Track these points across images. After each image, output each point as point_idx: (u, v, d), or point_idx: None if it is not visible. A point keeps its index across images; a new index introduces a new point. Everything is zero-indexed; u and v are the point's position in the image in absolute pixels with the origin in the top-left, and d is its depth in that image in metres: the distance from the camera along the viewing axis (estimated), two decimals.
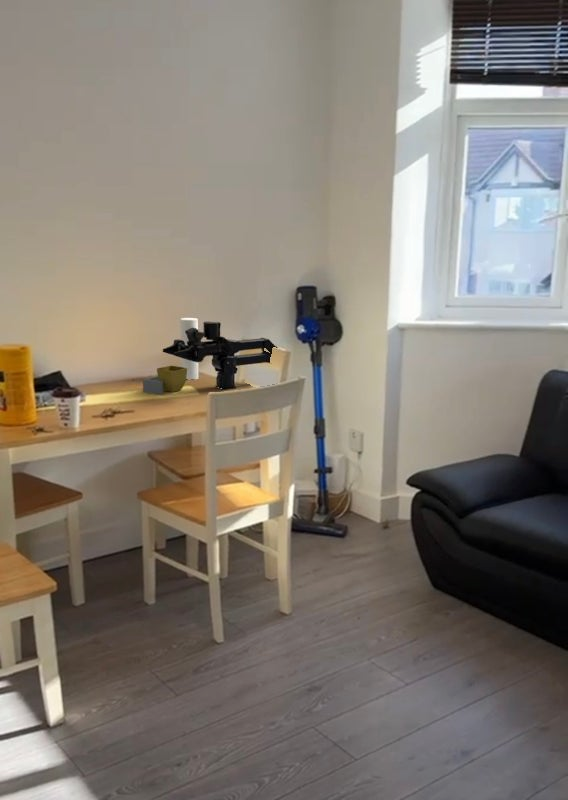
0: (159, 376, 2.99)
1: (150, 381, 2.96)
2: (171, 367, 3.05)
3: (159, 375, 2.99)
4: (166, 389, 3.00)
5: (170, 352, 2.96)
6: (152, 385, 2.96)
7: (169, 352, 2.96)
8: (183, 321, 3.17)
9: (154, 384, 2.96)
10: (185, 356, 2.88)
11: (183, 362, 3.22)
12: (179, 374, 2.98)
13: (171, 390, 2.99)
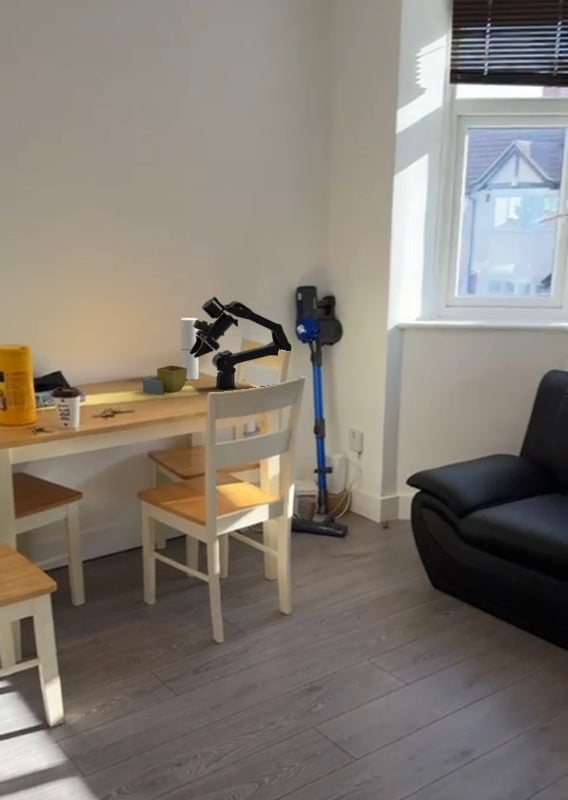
0: (159, 377, 2.99)
1: (150, 381, 2.96)
2: (171, 367, 3.05)
3: (159, 375, 2.99)
4: (166, 389, 3.00)
5: (197, 349, 3.06)
6: (152, 385, 2.96)
7: (197, 350, 3.05)
8: (183, 321, 3.17)
9: (154, 384, 2.96)
10: (204, 352, 2.97)
11: (183, 362, 3.22)
12: (179, 374, 2.98)
13: (171, 390, 2.99)
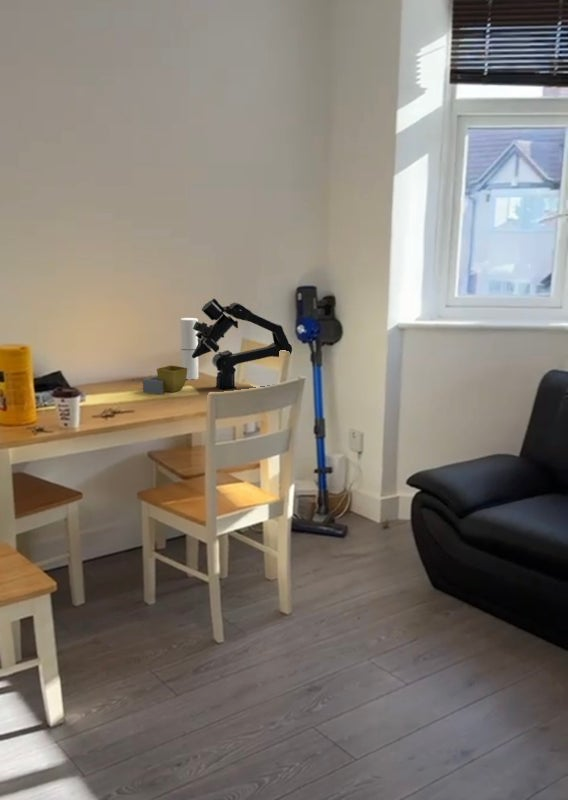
0: (159, 376, 2.99)
1: (150, 381, 2.96)
2: (171, 367, 3.05)
3: (159, 375, 2.99)
4: (166, 389, 3.00)
5: None
6: (152, 385, 2.96)
7: None
8: (183, 321, 3.17)
9: (154, 384, 2.96)
10: (202, 352, 3.01)
11: (183, 362, 3.22)
12: (179, 374, 2.98)
13: (171, 390, 2.99)
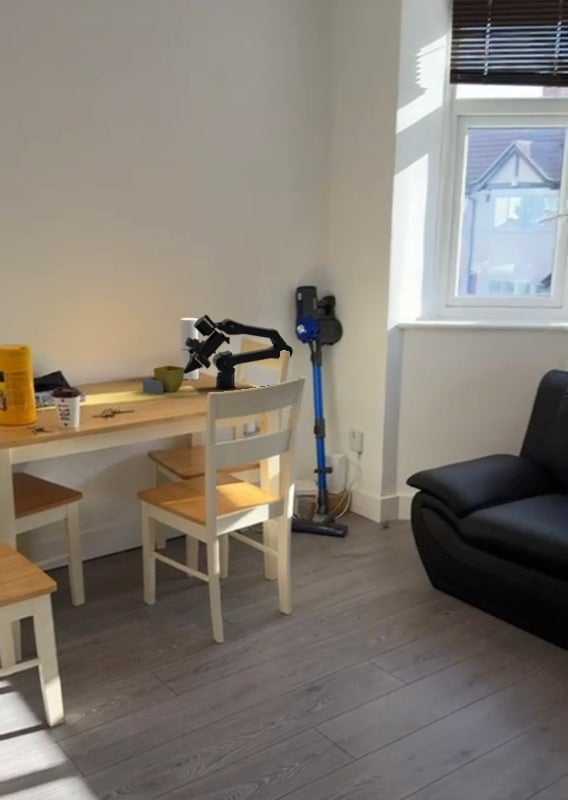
0: (156, 376, 2.99)
1: (150, 381, 2.96)
2: (168, 367, 3.05)
3: (156, 375, 2.99)
4: (163, 389, 3.00)
5: None
6: (152, 385, 2.96)
7: None
8: (183, 321, 3.17)
9: (154, 384, 2.96)
10: (193, 368, 3.01)
11: (183, 362, 3.22)
12: (176, 374, 2.98)
13: (168, 390, 2.98)
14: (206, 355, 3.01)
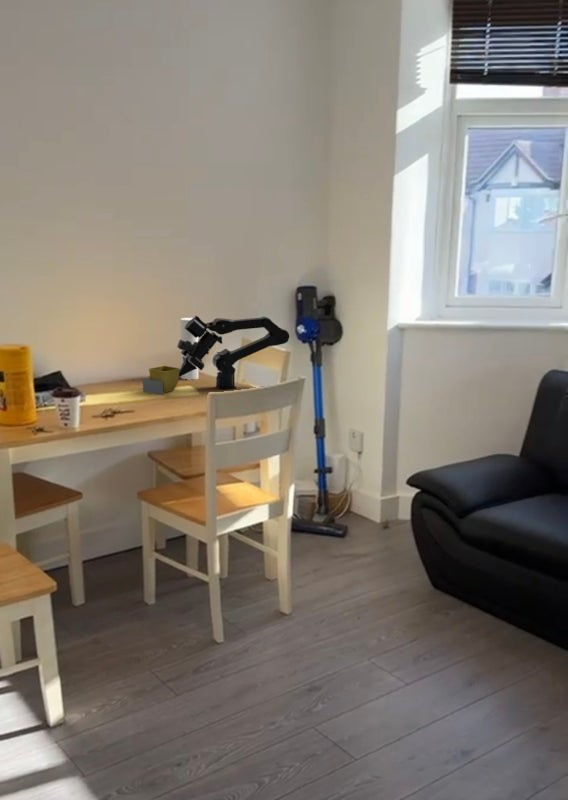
0: (152, 377, 2.98)
1: (150, 381, 2.96)
2: (165, 367, 3.05)
3: (151, 375, 2.98)
4: None
5: None
6: (152, 385, 2.96)
7: None
8: (183, 321, 3.17)
9: (154, 384, 2.96)
10: (187, 370, 3.01)
11: None
12: (171, 374, 2.97)
13: (163, 390, 2.98)
14: (199, 356, 3.00)
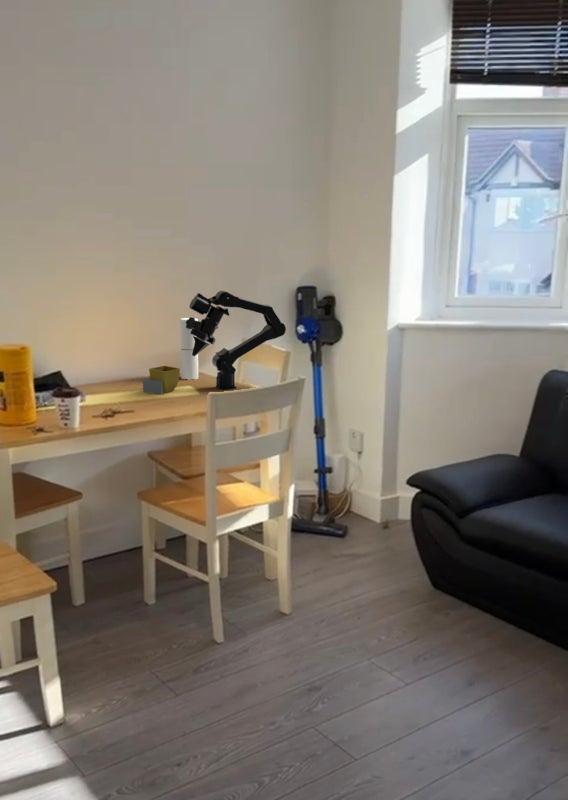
0: (152, 377, 2.98)
1: (150, 381, 2.96)
2: (165, 367, 3.05)
3: (151, 375, 2.98)
4: None
5: None
6: (152, 385, 2.96)
7: None
8: (183, 321, 3.17)
9: (154, 384, 2.96)
10: (199, 347, 3.00)
11: (183, 362, 3.22)
12: (171, 374, 2.97)
13: (163, 390, 2.98)
14: (206, 331, 2.98)
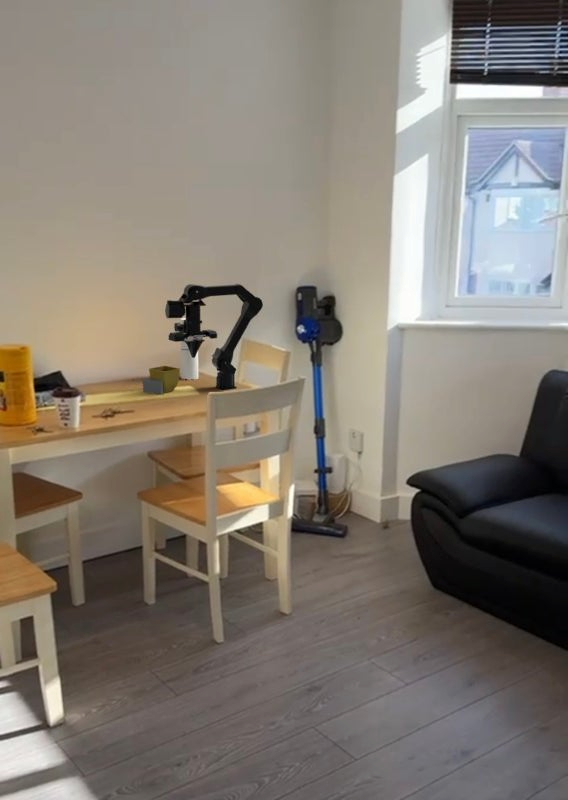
0: (152, 377, 2.98)
1: (150, 381, 2.96)
2: (165, 367, 3.05)
3: (151, 375, 2.98)
4: None
5: None
6: (152, 385, 2.96)
7: None
8: (183, 321, 3.17)
9: (154, 384, 2.96)
10: (191, 348, 2.98)
11: (183, 362, 3.22)
12: (171, 374, 2.97)
13: (163, 390, 2.98)
14: (188, 330, 2.96)
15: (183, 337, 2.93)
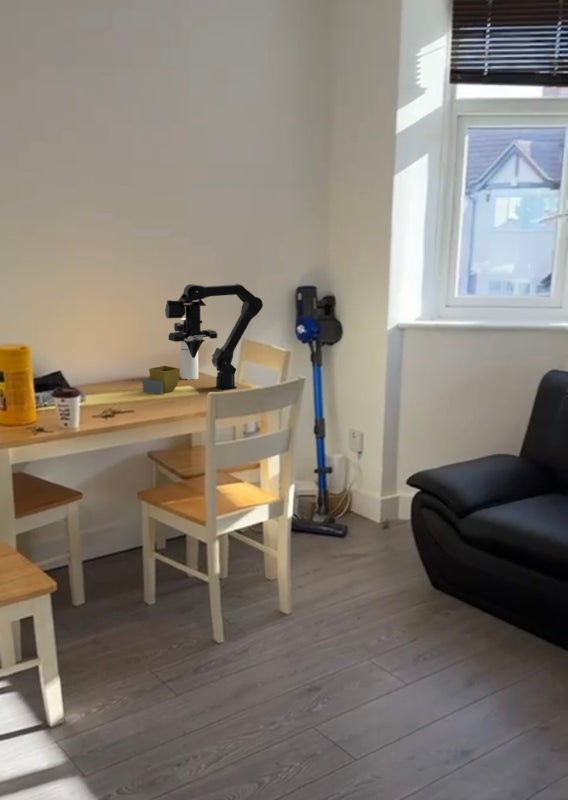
0: (152, 377, 2.98)
1: (150, 381, 2.96)
2: (165, 367, 3.05)
3: (151, 375, 2.98)
4: None
5: None
6: (152, 385, 2.96)
7: None
8: (183, 321, 3.17)
9: (154, 384, 2.96)
10: (191, 348, 2.98)
11: (183, 362, 3.22)
12: (171, 374, 2.97)
13: (163, 390, 2.98)
14: (188, 330, 2.96)
15: (183, 337, 2.93)
